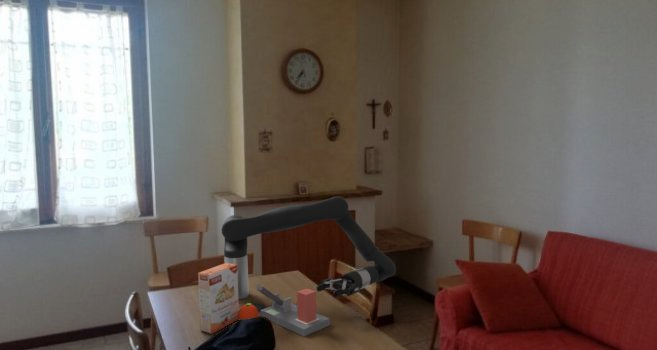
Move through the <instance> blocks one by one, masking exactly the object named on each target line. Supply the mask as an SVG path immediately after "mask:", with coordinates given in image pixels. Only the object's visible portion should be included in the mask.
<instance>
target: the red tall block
mask: <svg viewBox="0 0 657 350" xmlns="http://www.w3.org/2000/svg"><path fill="white" fill-rule="evenodd" d="M316 291H317V290H316ZM316 291H315V290H313V289H310V288H305V289H301V290H297V292H296V296H297V297H296V299H297V300H296V301H297V302H296V303H297V304H296V305H297V309H298V320H300V321H303V322H305V323H308V322H311V321H313V320H316V313H317V292H316Z"/></svg>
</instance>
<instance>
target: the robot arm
mask: <svg viewBox="0 0 657 350" xmlns="http://www.w3.org/2000/svg"><path fill="white" fill-rule="evenodd" d="M329 220H333V221H334V222H335V223H336V224H337V225H338V226H339V227H340V228H341V229H342V231H343V232H345V235H347V237H348V238H349V240H350V241H351V243H352V245H354V246H353V247H355V249H356V250H357V251H358V253H359V254H360V256H361V257H362V258H363V259H364V261H366V262H368V263H369V262H374V263H375V264H372V265H368V266H364V267H362V268H357V269H353V270H351V271H347V272H346V273H343V275H341V277H340V278H337V279H335V277H332V276H331V277H329V278H325V279H323V280H321V284H318V285H316V291H317V292H319V293H320V292H322V291H325V290H330V291H333V292H332V296H333V298H337V297H340V296H347V297H350V296H352V295H354V294H357V293H359V291H360V290H363V289H365V288H366V287H368V286H371V285H373V284H376V283H379V282H382V281H385V280H386V279H388V278H391V277H392V276H394V275H395V274H396V271H397V268H396V264H395V262H394V261H393V260H392V259H391V258H390V257H389V256H387V254H385V253H384V252H383V251H382V250H380V249H379V248H378V247H377V246H376V244H375V243H374V241H373V240H372V239H371V238H370V236H369V235H368V234H367V233H366V232H365V231H364V230H363V229H362V227H361V226H360V225H359V224H358V223H357V221H356V220H355V219H354V217H353V215H352V213H351V212H350V210H349V204H348V202H347V200H346V199H344V198H343V197H341V196H332V197H331V198H327V199H324V200H320V201H317V202H313V203H307V204H305V203H304V204H302V203H301V204H292V205H286V206H283V207H277V208H273V209H271V210H268V211H266V212H263V213H260V214H258V215H255V216H254V215H253V216H250V217H243V216H241V215H237V214H233V215H230V216H228V217H227V218H226V219H225V221H224V222H223V224H222V227H221V235H222V236H223V237H224V245H223V246H224V247H223V259H224V261H223V262H224V263H230V264H235V265H237V269H238V300H242V299H243V300H244V299H247V298H248V297H249V295H250V294H249V293H250V292H249V269H248V268H249V267H248V266H249V265H248V238H249V237H252V236H256V235H259V234H261V235H262V234H269V233H274V232H280V231H286V230H292V229H297V228H299V227H303V226H306V225H308V224H309V225H310V224H311V223H315V222H321V221H329ZM375 282H376V283H375Z"/></svg>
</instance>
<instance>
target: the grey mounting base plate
mask: <svg viewBox="0 0 657 350" xmlns="http://www.w3.org/2000/svg"><path fill="white" fill-rule="evenodd" d="M273 294H274V295H275V296H277V297H278V298H279V299H281V297H280V292H279V293H278V292H276V293H273ZM282 301H283V307H282V306H279V305H277V304H276V303H275V302H273V301H272V300H271V306H268V307H264V308H263V309H262V310H260V311H259V312H260V313H259V314H260V317H261V316H263V317H266V318H268V319H269V320H270V321H269V320H268V321H269V322H272V323H273V324H276V325H279V326H280V327H283V328H285V329H287V330H289V331H292V332H294V333H296V334H298V335H300V336H302V337H306V336H308V335H311V334H313V333H315V332H317V331H319V330H322V329H324V328H327V327H329V326H330V325H331V324H330V322H331V321H330V320H331V319H330V317H328V316H325V315H322V314H321V313H317V312H316V320H313V321H311V322H308V323H305V322H303V321H300V320H298V309H297V304H294V303H292V298H291V297H290V296H289V297H287V298H284V299H283V300H282ZM263 317H262V318H263Z"/></svg>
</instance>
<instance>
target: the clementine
mask: <svg viewBox="0 0 657 350" xmlns="http://www.w3.org/2000/svg"><path fill="white" fill-rule="evenodd" d="M251 303H252V302H247V303H246V304H244V305H243V306H242V305H241V308H240V309H239V319H240V320H241V319H248V318H254V317H259V312H258V310H257V308H256V307H255V306H254V305H252V304H251ZM240 320H239V321H240Z"/></svg>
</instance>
